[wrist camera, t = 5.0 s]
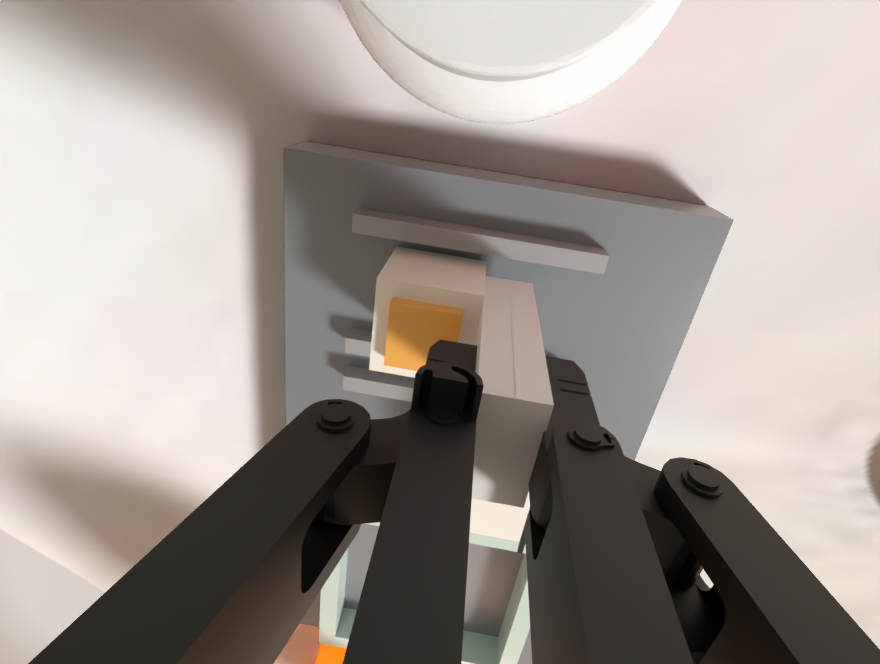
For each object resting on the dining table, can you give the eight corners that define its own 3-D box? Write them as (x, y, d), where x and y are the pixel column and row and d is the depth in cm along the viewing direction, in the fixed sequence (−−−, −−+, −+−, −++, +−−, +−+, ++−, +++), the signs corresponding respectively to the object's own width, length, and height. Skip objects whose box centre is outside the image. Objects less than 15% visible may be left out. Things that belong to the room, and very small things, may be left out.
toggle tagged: (396, 246, 16) (373, 282, 13) (486, 261, 16) (484, 301, 13) (388, 327, 18) (365, 376, 15) (471, 341, 18) (465, 394, 14)
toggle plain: (474, 412, 19) (470, 466, 16) (552, 426, 19) (561, 482, 16) (462, 471, 20) (456, 529, 18) (534, 484, 20) (540, 545, 17)
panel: (306, 141, 17) (263, 153, 14) (708, 206, 17) (756, 232, 14) (300, 586, 28) (275, 649, 25) (544, 633, 28) (550, 702, 25)
